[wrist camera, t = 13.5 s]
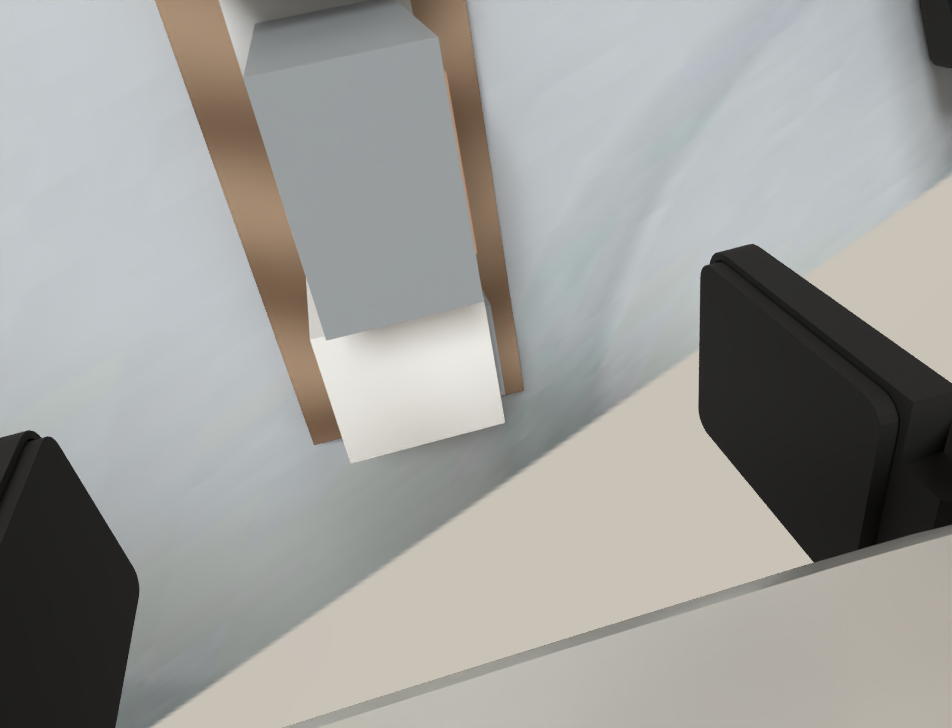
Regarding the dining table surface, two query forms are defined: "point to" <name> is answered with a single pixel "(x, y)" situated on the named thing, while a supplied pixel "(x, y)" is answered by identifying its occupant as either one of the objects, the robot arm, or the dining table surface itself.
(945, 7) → the black ridged block
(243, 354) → the dining table surface
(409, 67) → the block
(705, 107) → the dining table surface
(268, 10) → the rail board
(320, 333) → the block
